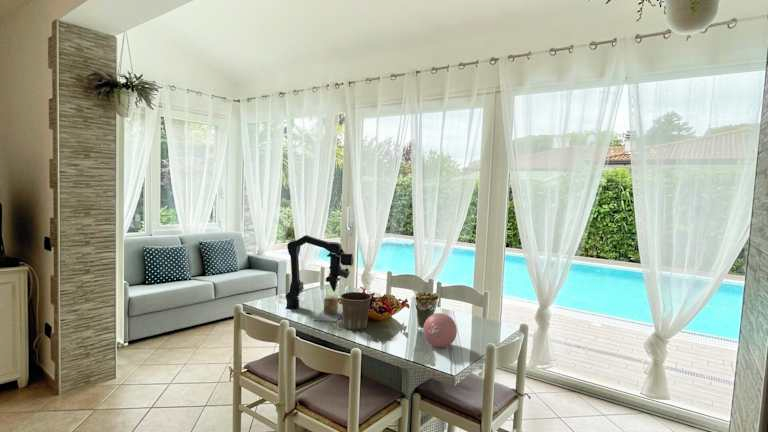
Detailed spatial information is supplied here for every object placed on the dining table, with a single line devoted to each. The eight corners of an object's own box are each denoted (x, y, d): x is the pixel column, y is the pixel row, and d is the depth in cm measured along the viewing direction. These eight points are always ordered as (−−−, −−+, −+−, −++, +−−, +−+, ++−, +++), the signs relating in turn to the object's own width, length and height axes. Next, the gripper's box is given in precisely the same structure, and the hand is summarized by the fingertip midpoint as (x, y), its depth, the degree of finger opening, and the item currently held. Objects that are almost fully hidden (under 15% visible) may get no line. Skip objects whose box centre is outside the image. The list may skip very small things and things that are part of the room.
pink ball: (413, 351, 180) (414, 317, 180) (429, 338, 198) (430, 307, 197) (446, 359, 173) (448, 324, 173) (460, 344, 191) (461, 312, 190)
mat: (314, 320, 217) (314, 319, 217) (322, 311, 235) (322, 310, 235) (336, 322, 216) (336, 321, 216) (342, 312, 234) (342, 311, 234)
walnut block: (323, 314, 228) (324, 298, 227) (325, 312, 232) (326, 296, 231) (335, 315, 227) (336, 299, 227) (337, 312, 231) (338, 297, 231)
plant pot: (366, 333, 201) (367, 301, 201) (335, 329, 205) (336, 298, 204) (373, 323, 217) (374, 293, 216) (344, 320, 221) (345, 291, 220)
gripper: (345, 268, 225) (344, 296, 226) (351, 262, 243) (350, 288, 244) (325, 267, 226) (324, 294, 227) (333, 261, 245) (332, 287, 245)
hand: (334, 291), depth 236 cm, fingers closed
